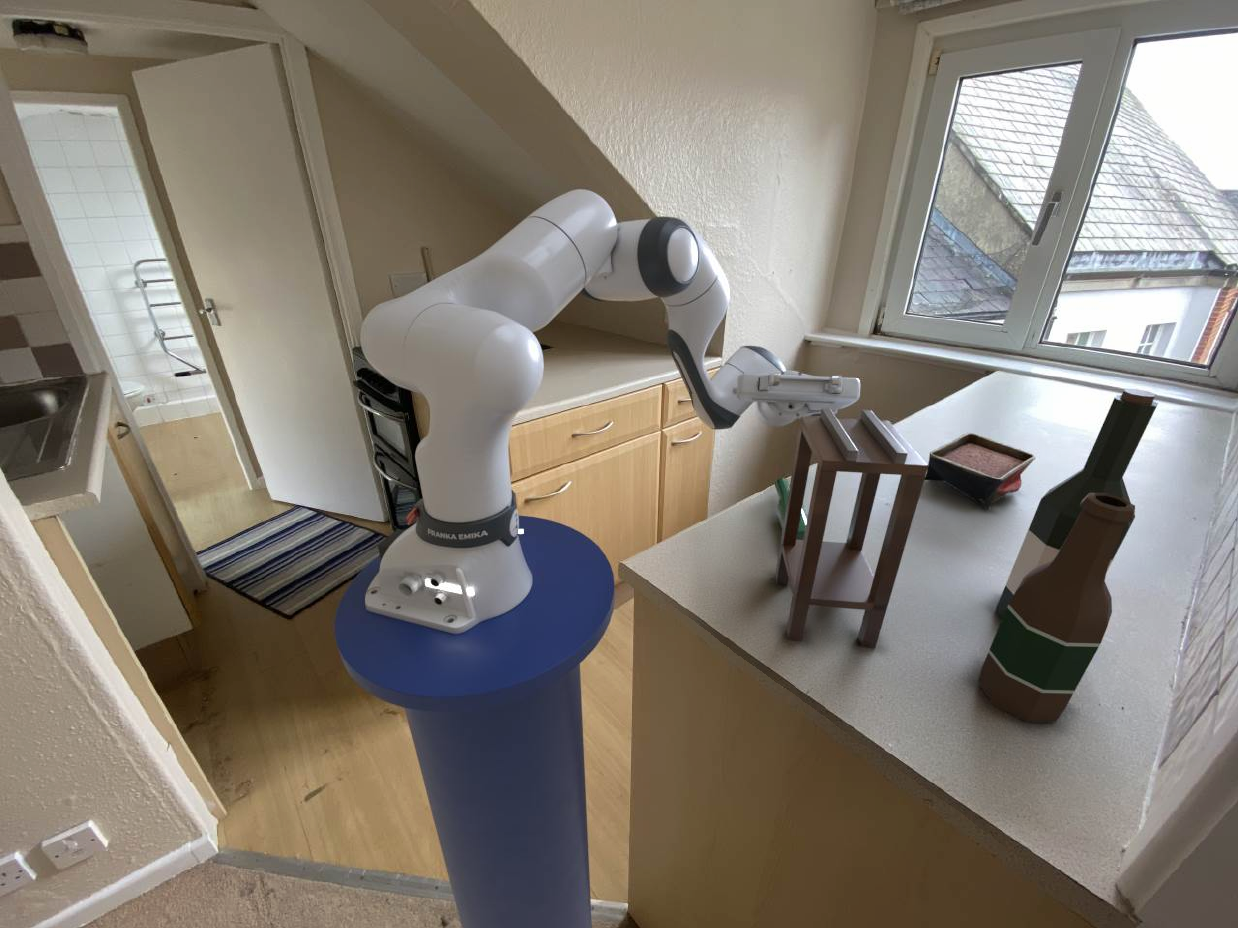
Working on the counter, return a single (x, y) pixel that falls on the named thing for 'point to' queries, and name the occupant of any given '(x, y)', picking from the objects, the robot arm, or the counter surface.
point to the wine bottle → (1084, 487)
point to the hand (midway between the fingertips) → (805, 379)
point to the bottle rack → (842, 567)
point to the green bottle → (782, 492)
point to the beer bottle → (1057, 618)
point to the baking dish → (979, 467)
